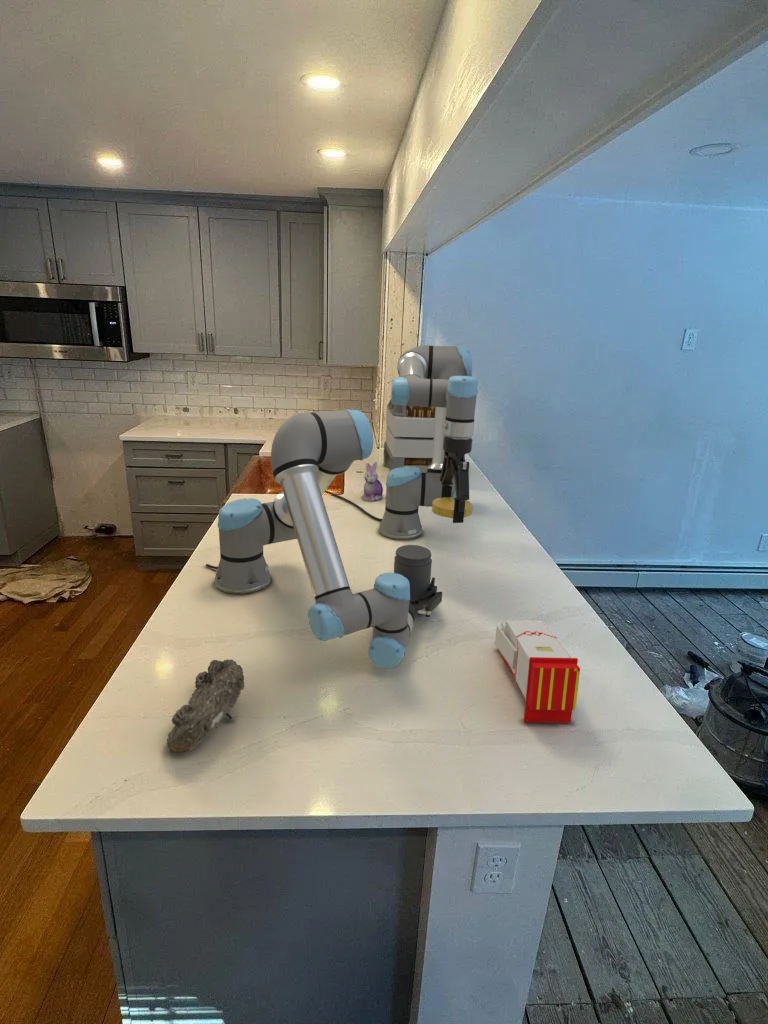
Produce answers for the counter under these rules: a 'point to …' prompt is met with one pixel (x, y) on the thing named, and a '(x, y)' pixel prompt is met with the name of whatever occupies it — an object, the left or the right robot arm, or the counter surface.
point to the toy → (540, 670)
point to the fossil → (206, 705)
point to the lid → (449, 507)
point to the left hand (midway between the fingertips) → (414, 579)
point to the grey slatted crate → (409, 436)
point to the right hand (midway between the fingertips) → (451, 515)
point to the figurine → (372, 484)
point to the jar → (414, 568)
